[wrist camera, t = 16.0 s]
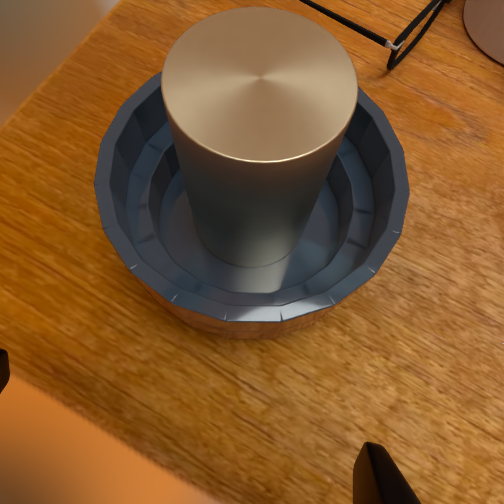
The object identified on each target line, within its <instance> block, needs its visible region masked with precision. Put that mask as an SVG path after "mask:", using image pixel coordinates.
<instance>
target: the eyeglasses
mask: <svg viewBox="0 0 504 504" xmlns="http://www.w3.org/2000/svg"><path fill="white" fill-rule="evenodd" d="M299 1H301V2H303V3H305V4H307V5H309V6H310V7H312V8H314V9H316V10H318V11H320V12H321V13H323V14H325V15H327V16H329V17H331V18H332V19H334V20H336V21H338V22H340V23H342V24H343V25H345V26H347V27H349V28H351V29H353V30H354V31H356V32H358V33H360V34H362V35H364V36H365V37H367V38H369V39H371V40H373V41H375V42H376V43H378V44H380V45H382V46H384V47H386V48H391V51H392V52H391V54H390V57H389V60H388V63H387V69H389V70H391V69H393V68H394V67H395V66H396V65H397V64H398V63H399V62H400V61H401V60H402V59H403V58H404V57H405V56H406V55H407V54H408V53H409V52H410V51H411V50H412V48H413V47H414V46H415V45H416V44H417V43H418V41H419V40H420V39H421V38H422V36H423V35H424V34H425V32H426V31H427V29H428V28H429V27H430V25H431V24H432V22H433V21H434V19H435V18H436V16H437V15H438V14H439V12H440V11H441V9H442V8H443V6H444V5H445V3H447V4H449V3H450V2H451V1H452V0H432V1H431V2H430V3H429V4H428V6H427V7H426V8H425V9H424V10H423V11H422V12H421V13H420V14H419V15H418V16H417V17H416V18H415V19H414V20H413V21H412V22H411V23H410V24H409V25H408V26H407V27H406V29H405V30H404V31H403V32H402V33H401V34H400V35H399V36H398V37H397V39H396V40H395V41H394V43H393V45H392V44H391V42H389V40H387V39H385V38H383V37H381V36H379V35H377V34H375V33H373V32H371V31H369V30H367V29H365V28H363V27H361V26H359V25H357V24H355V23H353V22H351V21H349V20H347V19H345V18H343V17H341V16H340V15H338V14H336V13H334V12H332V11H330V10H328V9H326V8H324V7H322V6H320V5H318V4H316V3H314V2H312V1H310V0H299ZM431 10H432V11H434V12H433V14H432V15H431V17H430V18H429V20H428V21H427V23H426V24H425V25H424V27H423V28H422V30H421V31H420V33H419V34H418V35H417V37H416V38H415V39H414V40H413V41H412V43H411V44H410V45H409V46H408V47H407V48H406V49H405V50H404V51H403V52H402V53H401V55H400V56H399V57H398V58H397V59H396V60H395V58H396V56H397V54H398V52H399V50H400V49H401V47H402V45H403V43H404V42H405V40H406V38H407V37H408V36H409V34H410V33H411V32H412V31H413V29H414V28H415V27H416V26H417V25H418V24H419V23H420V22H421V21H422V20H423V19H424V18H425V17H426V16H427V15H428V13H429V12H430V11H431Z"/></svg>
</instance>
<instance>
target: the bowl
mask: <svg viewBox="0 0 504 504" xmlns="http://www.w3.org/2000/svg"><path fill="white" fill-rule="evenodd" d="M161 75H162V72H160V73H158V74H156V75H154V76H153V77H151V78H150V79H149V80H148V81H147V82H146V83H145V84H144V85H142V86H141V87H140V88H139V89H138V90H137V91H136V92H135V93H134V94H133V95H132V96H131V97H130V98H128V99H127V100H126V101H125V102H124V103H123V104H122V106H121V107H120V109H119V110H118V112H117V114H116V116H115V118H114V119H113V121H112V123H111V125H110V126H109V128H108V130H107V132H106V134H105V135H104V137H103V139H102V142H101V143H100V149H99V155H98V161H97V167H96V173H95V180H94V189H95V194H96V199H97V203H98V208H99V213H100V218H101V223H102V227H103V230H104V233H105V234H106V236H107V237H108V239H109V240H110V242H111V243H112V245H113V247H114V248H115V250H116V251H117V253H118V254H119V256H120V257H121V259H122V261H123V262H124V264H125V265H126V267H127V268H128V270H129V271H130V272H131V273H132V274H133V276H134V277H135V278H136V279H137V280H138V281H139V282H140V283H141V284H142V286H143V287H144V288H145V289H146V290H147V291H148V292H149V293H150V294H151V296H152V297H153V298H154V299H155V300H156V301H157V302H159V303H160V304H161V305H163V306H164V307H165V308H167V309H168V310H169V311H170V312H172V313H173V314H174V315H176V316H177V317H178V318H179V319H181V320H182V321H183V322H185V323H186V324H188V325H190V326H193V327H196V328H199V329H202V330H205V331H208V332H211V333H213V334H216V335H219V336H222V337H225V338H229V339H271V338H275V337H278V336H281V335H284V334H288V333H291V332H294V331H297V330H300V329H303V328H306V327H309V326H311V325H313V324H314V323H316V322H317V321H318V320H320V319H321V318H322V317H324V316H325V315H326V314H328V313H329V312H330V311H332V310H333V309H334V308H336V307H337V306H338V305H340V304H341V303H342V302H344V301H345V300H346V299H347V298H348V297H350V296H351V295H352V294H353V293H354V292H356V291H357V290H358V289H359V288H360V287H362V286H363V285H364V284H365V283H367V282H368V281H369V280H370V279H371V278H373V277H374V275H375V274H376V273H377V272H378V270H379V269H380V267H381V266H382V264H383V262H384V261H385V259H386V258H387V256H388V255H389V253H390V252H391V250H392V249H393V247H394V245H395V244H396V242H397V241H398V239H399V238H400V235H401V232H402V228H403V223H404V218H405V213H406V208H407V204H408V199H409V194H410V193H409V191H410V190H409V183H408V177H407V170H406V163H405V157H404V151H403V148H402V146H401V144H400V142H399V140H398V138H397V137H396V135H395V133H394V131H393V129H392V127H391V125H390V123H389V121H388V119H387V117H386V116H385V114H384V112H383V111H382V110H381V109H380V108H379V107H378V106H377V105H376V104H375V103H374V102H373V101H372V100H371V99H370V98H369V97H368V96H367V95H366V94H365V93H364V92H363V91H362V90H361V89H360V88H359V86H358V100H357V104H356V108H355V111H354V113H353V116H352V118H351V120H350V123H349V125H348V128H347V130H346V132H345V135H344V137H343V139H342V142H341V144H340V146H339V149H338V151H337V154H336V156H335V158H334V161H333V163H332V165H331V168H330V170H329V173H328V175H327V177H326V180H325V182H324V184H323V187H322V189H321V192H320V194H319V196H318V199H317V201H316V203H315V206H314V208H313V210H312V213H311V215H310V218H309V220H308V222H307V225H306V227H305V229H304V232H303V234H302V236H301V239H300V240H299V242H298V244H297V245H296V246H295V248H294V249H293V250H292V251H291V252H290V253H289V254H288V255H286V256H285V257H283V258H282V259H280V260H278V261H276V262H275V263H272V264H269V265H266V266H261V267H241V266H236V265H232V264H229V263H227V262H225V261H223V260H221V259H219V258H218V257H216V256H215V255H214V254H212V253H211V252H210V251H209V250H208V249H207V248H206V247H205V245H204V244H203V243H202V241H201V240H200V238H199V236H198V233H197V231H196V228H195V224H194V220H193V216H192V212H191V208H190V204H189V200H188V196H187V192H186V188H185V184H184V180H183V176H182V172H181V168H180V164H179V160H178V157H177V153H176V149H175V145H174V141H173V137H172V133H171V129H170V125H169V121H168V117H167V113H166V109H165V105H164V101H163V97H162V91H161Z"/></svg>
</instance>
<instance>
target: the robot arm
mask: <svg viewBox="0 0 504 504" xmlns="http://www.w3.org/2000/svg"><path fill="white" fill-rule="evenodd" d="M9 377H10V369H9V359H8V353H7V351H6V350H4V349H0V393H1V392H2V390H3V389H4V388H5V386H6V385H7V383H8V381H9ZM353 504H421V502H420V501H419V499H418V498H417V496H416V495H415V493H414V492H413V490H412V489H411V487H410V485H409V484H408V482H407V481H406V479H405V478H404V476H403V475H402V473H401V472H400V470H399V469H398V467H397V466H396V464H395V463H394V461H393V460H392V458H391V456H390V455H389V453H388V452H387V450H386V449H385V448H384V447H383V446H382V445H380V444H376V443H372V442H365V443H364V444H363V446H362V448H361V451H360V453H359V455H358V457H357V459H356V461H355V464H354V468H353Z"/></svg>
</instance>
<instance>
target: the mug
mask: <svg viewBox="0 0 504 504" xmlns="http://www.w3.org/2000/svg"><path fill="white" fill-rule="evenodd" d="M463 18H464V23H465V26H466V29H467V32H468V33H469V35H470V37H471V38H472V40H473V41H474V42H475V43H476V45H477V46H478V47H479V48H480V49H481V50H483V51H484V52H485V53H486V54H487V55H489V56H490V57H492V58H493V59H495V60H496V61H498V62H500V63H502V64H504V0H466V3H465V6H464V16H463Z"/></svg>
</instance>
